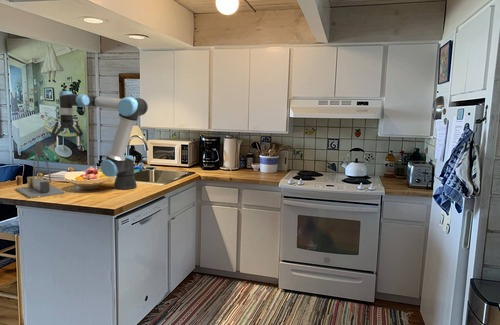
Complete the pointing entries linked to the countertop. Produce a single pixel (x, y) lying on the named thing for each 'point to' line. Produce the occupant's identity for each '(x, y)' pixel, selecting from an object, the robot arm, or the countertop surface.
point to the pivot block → (29, 181)
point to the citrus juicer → (39, 152)
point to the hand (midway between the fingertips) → (67, 146)
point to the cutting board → (35, 193)
